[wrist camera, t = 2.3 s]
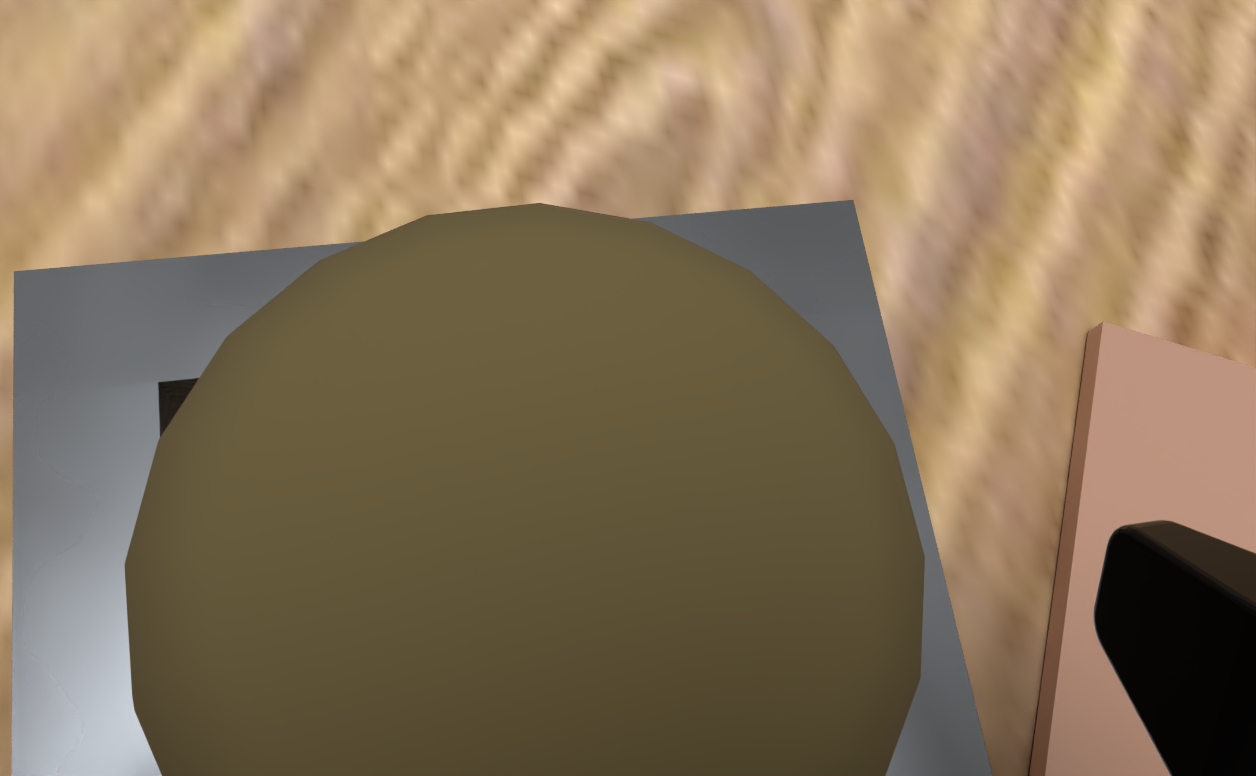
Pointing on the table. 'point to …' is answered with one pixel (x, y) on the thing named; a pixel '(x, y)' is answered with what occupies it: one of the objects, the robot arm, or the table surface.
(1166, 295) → the table surface
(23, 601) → the metal collar
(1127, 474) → the terracotta tile
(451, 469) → the cork
